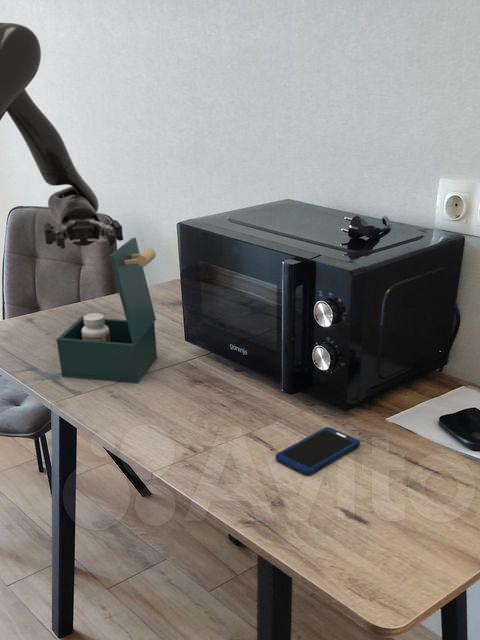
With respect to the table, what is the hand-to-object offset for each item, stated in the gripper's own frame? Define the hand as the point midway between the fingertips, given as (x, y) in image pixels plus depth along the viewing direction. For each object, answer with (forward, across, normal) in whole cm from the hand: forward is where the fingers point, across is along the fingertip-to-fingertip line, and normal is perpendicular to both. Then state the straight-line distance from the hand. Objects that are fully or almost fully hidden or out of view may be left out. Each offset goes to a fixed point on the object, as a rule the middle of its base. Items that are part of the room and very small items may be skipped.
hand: (86, 241), depth 128 cm
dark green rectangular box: (-1, +2, +25) cm, 25 cm away
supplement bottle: (-2, 0, +25) cm, 25 cm away
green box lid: (+2, +7, +9) cm, 12 cm away
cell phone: (+42, +30, +25) cm, 58 cm away
